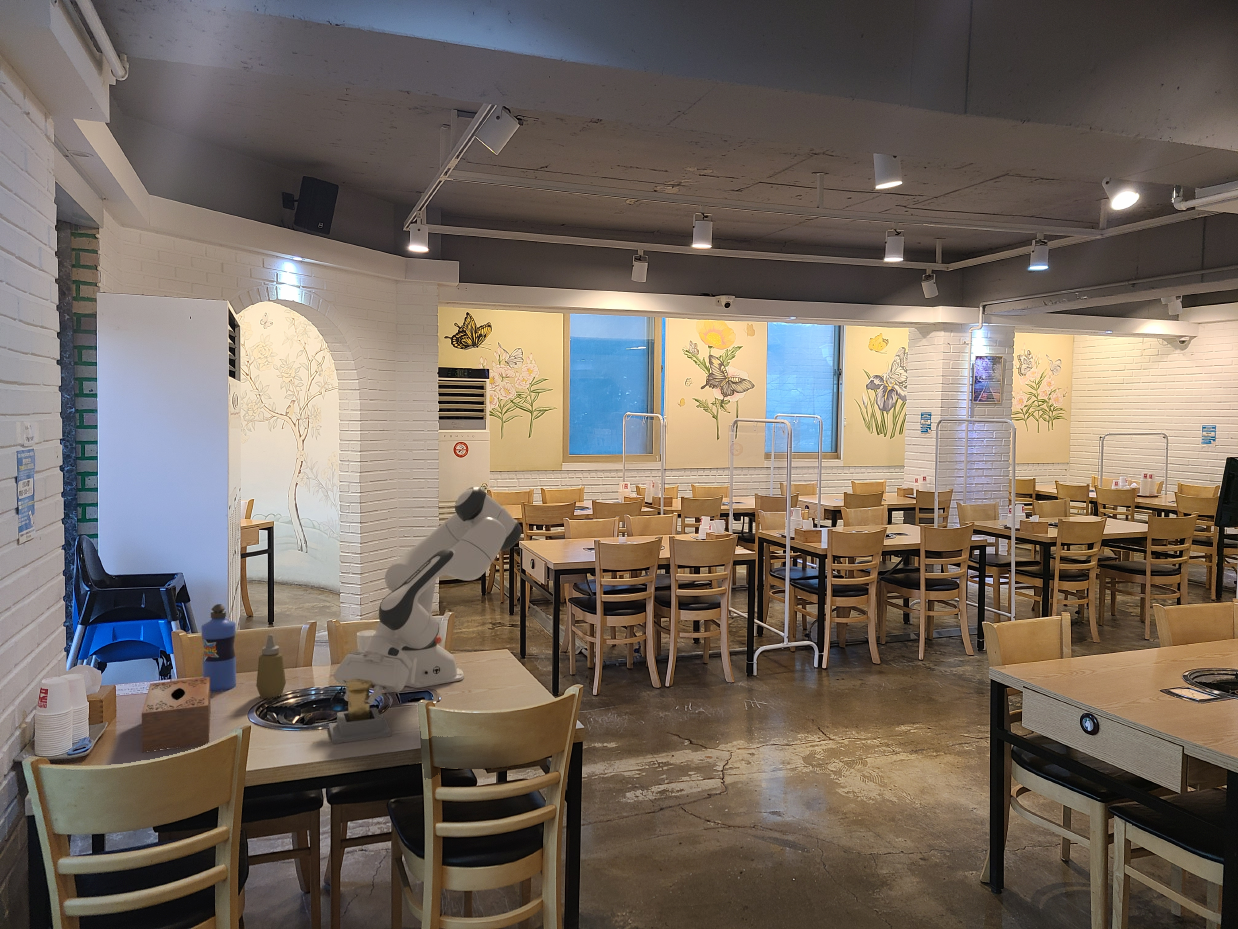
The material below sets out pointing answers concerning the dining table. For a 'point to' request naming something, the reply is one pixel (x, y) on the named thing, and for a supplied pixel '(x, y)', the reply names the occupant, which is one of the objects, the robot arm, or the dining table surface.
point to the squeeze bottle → (270, 671)
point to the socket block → (358, 728)
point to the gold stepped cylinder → (358, 699)
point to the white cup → (364, 639)
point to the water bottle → (219, 650)
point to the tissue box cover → (176, 714)
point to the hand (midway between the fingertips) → (357, 701)
